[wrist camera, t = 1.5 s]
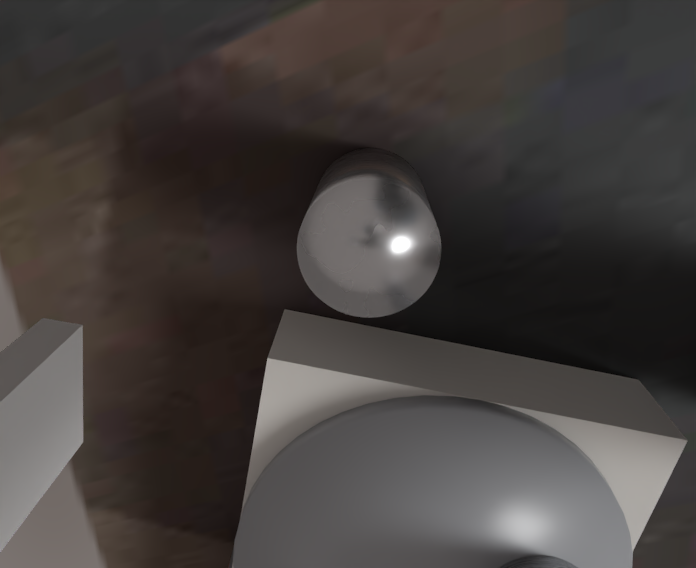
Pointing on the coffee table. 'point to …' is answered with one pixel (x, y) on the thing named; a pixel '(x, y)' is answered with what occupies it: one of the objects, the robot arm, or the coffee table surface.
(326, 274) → the cylinder
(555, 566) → the cylinder
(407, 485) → the scale
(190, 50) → the coffee table surface
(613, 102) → the coffee table surface
